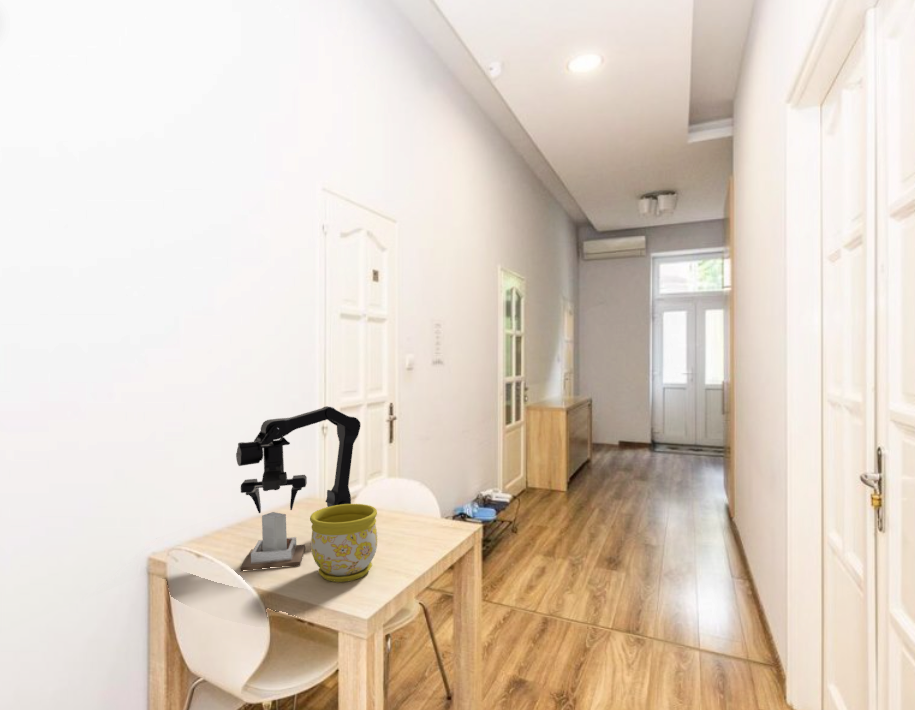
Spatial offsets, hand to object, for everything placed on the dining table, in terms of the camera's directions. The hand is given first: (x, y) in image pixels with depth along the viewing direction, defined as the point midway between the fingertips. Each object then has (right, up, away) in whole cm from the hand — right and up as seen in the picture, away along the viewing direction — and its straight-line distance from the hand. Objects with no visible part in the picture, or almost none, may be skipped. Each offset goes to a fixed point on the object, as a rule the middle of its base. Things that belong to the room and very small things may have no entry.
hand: (275, 511), depth 157 cm
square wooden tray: (+2, -12, -6) cm, 14 cm away
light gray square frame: (+2, -11, -6) cm, 13 cm away
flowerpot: (+25, -12, -17) cm, 33 cm away
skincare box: (+2, -11, -6) cm, 13 cm away
